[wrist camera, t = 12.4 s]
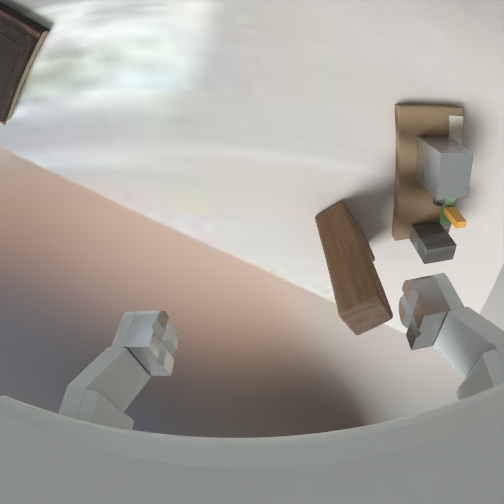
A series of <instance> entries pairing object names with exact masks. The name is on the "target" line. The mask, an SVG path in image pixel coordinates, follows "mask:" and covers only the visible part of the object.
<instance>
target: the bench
mask: <svg viewBox="0 0 504 504" xmlns="http://www.w3.org/2000/svg"><path fill="white" fill-rule="evenodd" d="M395 121H396V177H395V199H394V214H393V227H392V236H393V238H394V240H395V241H396V240H403V239H410V240H411V242H412V244H413V245H414V247H415V249H416V250H417V252H418V254H419V256H420V257H421V259H422V261H423V263H424V264H428V263H433V262H439V261H445V260H450V259H453V256H454V253H455V249H456V244H455V242H454V241H453V240H452V238H451V237H450V236H449V234H448V233H449V229H450V227H451V222H450V221H449V219H448V218H447V217H446V216H445V215H444V207H455V202H456V198H454V199H446V200H445V205H444V206H436V205H434V204H433V196H432V195H431V194H430V193H429V192H428V191H427V190H426V189H425V188H424V186H423V185H422V184H421V183H420V182H419V181H418V180H417V179H416V170H417V145H418V136H449V137H450V138H452V139H454V140H455V141H457V142H458V143H460V144H461V145H462V137H463V109H462V108H460V107H458V106H446V105H416V104H395Z"/></svg>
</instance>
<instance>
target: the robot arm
mask: <svg viewBox="0 0 504 504" xmlns="http://www.w3.org/2000/svg"><path fill="white" fill-rule="evenodd" d="M402 290H403V292H404V295H403V296H402V297H401V298H400V301H399V315H400V319H401V322H402V325H404V326H405V327H406V328H408V330H407V333H406V336H407V339H408V342H409V345H410V348H411V350H416V349H420V348H425V347H429V346H433V348H435V350H436V351H438V352H439V353H440V354H441V355H442V356H443V357H444V358H445V359H446V360H447V361H448V362H449V363H450V364H451V365H452V366H453V367H454V368H455V369H456V370H457V371H458V372H459V373H460V374H461V375H462V376H463V377H464V378H465V380H464V381H463V383H462V384H461V385H460V387H459V388H458V389H457V391H456V393H457V397H458V400H459V401H456V402H453V403H450V404H448V405H444V406H442V407H438V408H435V409H432V410H429V411H425V412H422V413H418V414H415V415H411V416H407V417H403V418H400V419H395V420H391V421H387V422H383V423H377V424H373V425H368V426H362V427H357V428H351V429H345V430H339V431H332V432H324V433H316V434H307V435H298V436H297V435H296V436H283V437H267V438H266V437H264V438H209V437H189V436H177V435H166V434H157V433H149V432H142V431H135V430H132V427H133V420H132V419H131V418H130V417H129V416H127V415H126V414H124V413H123V412H124V411H125V409H126V408H127V407H128V406H129V404H130V403H131V401H132V400H133V399H134V398H135V396H136V395H137V394H138V393H139V391H140V390H141V389H142V387H143V386H144V385H145V384H146V382H147V381H148V380H149V378H150V377H151V375H153V376H167V375H168V376H169V375H171V373H172V368H173V364H174V359H173V357H172V354H173V353H174V352H175V351H176V350H177V345H178V335H177V331H176V329H175V327H174V325H172V324H171V323H169V322H168V318H169V317H168V315H167V314H166V312H165V311H138V312H126V313H125V314H124V315H123V318H122V320H121V323H120V325H119V328H118V330H117V333H116V336H115V339H114V341H113V344H112V346H111V347H108V348H107V349H106V350H105V351H104V352H103V353H101V354H100V355H99V356H98V357H97V358H96V359H95V360H94V361H93V362H92V363H91V364H90V365H89V366H88V367H87V368H86V369H85V370H84V371H83V372H82V373H81V374H79V375H78V377H76V378H75V379H74V380H73V381H72V382H71V383H70V384H69V385H68V388H67V390H66V393H65V396H64V399H63V402H62V405H61V408H60V411H59V414H56V413H53V412H50V411H46V410H43V409H40V408H37V407H34V406H31V405H28V404H25V403H22V402H19V401H17V400H14V399H12V398H9V397H6V396H0V504H504V331H502V330H501V329H500V328H498V327H497V326H495V325H494V324H493V323H491V322H490V321H488V320H487V319H485V318H484V317H482V316H481V315H479V314H478V313H476V312H475V311H473V310H472V309H470V308H469V307H464V306H463V304H462V302H461V300H460V298H459V297H458V295H457V293H456V291H455V289H454V288H453V286H452V284H451V282H450V281H449V279H448V277H447V276H446V275H445V274H444V273H442V274H437V275H432V276H426V277H421V278H416V279H411V280H405V282H404V283H403V287H402Z"/></svg>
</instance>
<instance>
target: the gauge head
mask: <svg viewBox="0 0 504 504" xmlns="http://www.w3.org/2000/svg"><path fill="white" fill-rule="evenodd" d="M472 160H473V152H472V151H470V150H469V149H467V148H466V147H464V146H463V145H461V144H460V143H458V142H457V141H455V140H454V139H452V138H450V137H449V136H418V145H417V170H416V179H417V180H418V181H419V182H420V183H421V184H422V185H423V186H424V188H425V189H426V190H427V191H428V192H429V193H430V194H431V195H432V196H433V204H434V205H436V206H444V205H445V200H446V199H454V198H464V197H467V195H468V189H469V183H470V176H471V168H472Z"/></svg>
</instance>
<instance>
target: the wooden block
mask: <svg viewBox="0 0 504 504" xmlns="http://www.w3.org/2000/svg"><path fill="white" fill-rule="evenodd" d="M315 220H316V223H317V227H318V231H319V235H320V239H321V242H322V246H323V250H324V254H325V258H326V262H327V266H328V270H329V274H330V278H331V283H332V287H333V291H334V296H335V300H336V304H337V309H338V314H339V316H340V317H341V319H342V320H343V321H344V322H345V323H346V324H347V326H348V327H349V328H350V329H351V330H352V331H353V332H354V333H355V334H356V335H360V334H362V333H364V332H366V331H368V330H370V329H373V328H375V327H377V326H379V325H381V324H383V323H385V322H387V321H389V320H391V319H392V316H393V314H392V311H391V308H390V305H389V303H388V300H387V297H386V295H385V292H384V289H383V287H382V284H381V282H380V279H379V277H378V274H377V272H376V269H375V267H374V264H373V261H374V260H375V257H374V255H373V253H372V250H371V248H370V246H369V244H368V241H367V240H366V238H365V237H364V235H363V233H362V232H361V230H360V229H359V227H358V225H357V224H356V222H355V221H354V219H353V218H352V216H351V215H350V213H349V212H348V210H347V209H346V207H345V206H344V204H343V203H342V202H341V201H340V202H338V203H336V204H335V205H333V206H331V207H330V208H328V209H326V210H325V211H323V212H322V213H320V214H318V215H317V216H316V217H315Z"/></svg>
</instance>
